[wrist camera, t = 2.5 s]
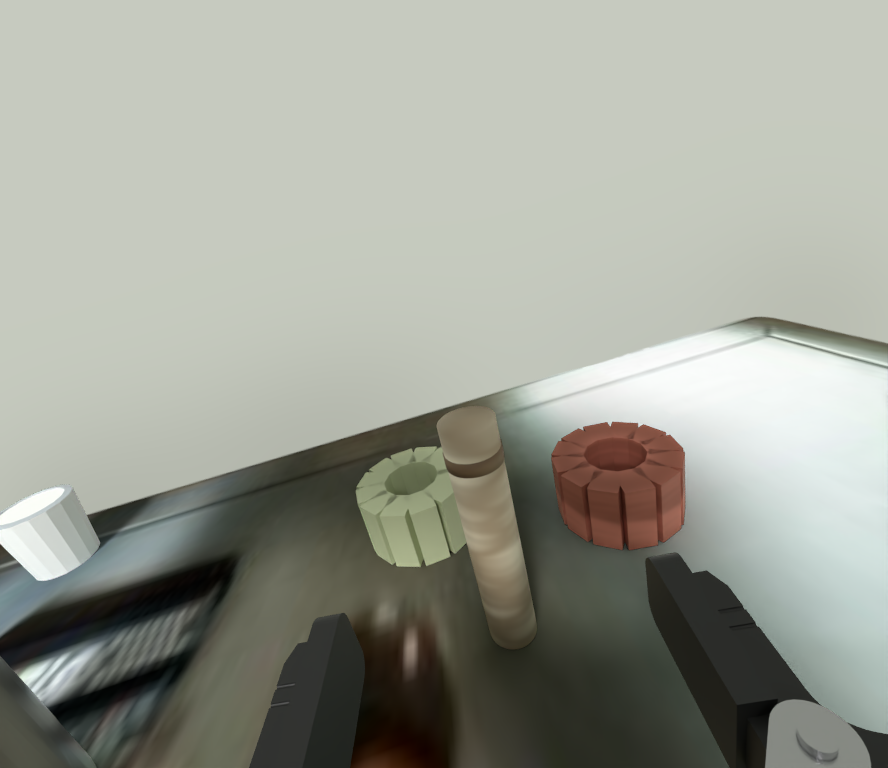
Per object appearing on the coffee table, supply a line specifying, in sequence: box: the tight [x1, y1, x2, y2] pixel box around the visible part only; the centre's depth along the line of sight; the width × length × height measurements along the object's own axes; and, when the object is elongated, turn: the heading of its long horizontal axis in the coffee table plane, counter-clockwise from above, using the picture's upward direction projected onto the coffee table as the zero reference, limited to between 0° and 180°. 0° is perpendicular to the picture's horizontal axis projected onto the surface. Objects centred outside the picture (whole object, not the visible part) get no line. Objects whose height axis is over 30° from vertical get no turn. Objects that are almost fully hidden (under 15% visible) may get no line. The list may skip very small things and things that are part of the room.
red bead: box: [551, 422, 685, 550], centre depth 35 cm, size 9×9×5 cm
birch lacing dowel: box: [437, 406, 537, 650], centre depth 25 cm, size 3×3×15 cm
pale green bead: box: [356, 446, 467, 567], centre depth 38 cm, size 9×9×5 cm
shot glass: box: [0, 485, 100, 581], centre depth 45 cm, size 7×7×7 cm
